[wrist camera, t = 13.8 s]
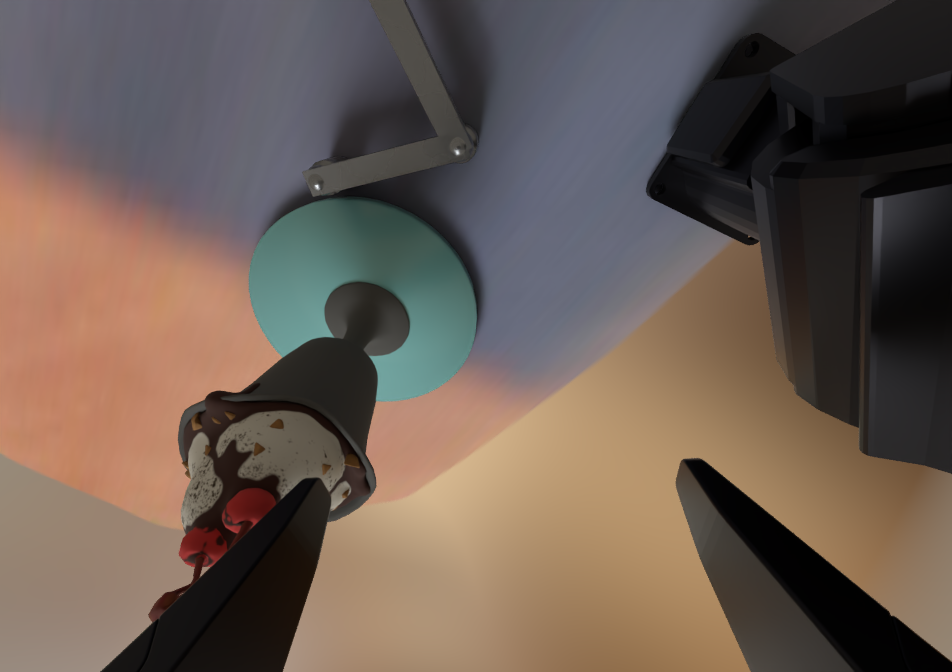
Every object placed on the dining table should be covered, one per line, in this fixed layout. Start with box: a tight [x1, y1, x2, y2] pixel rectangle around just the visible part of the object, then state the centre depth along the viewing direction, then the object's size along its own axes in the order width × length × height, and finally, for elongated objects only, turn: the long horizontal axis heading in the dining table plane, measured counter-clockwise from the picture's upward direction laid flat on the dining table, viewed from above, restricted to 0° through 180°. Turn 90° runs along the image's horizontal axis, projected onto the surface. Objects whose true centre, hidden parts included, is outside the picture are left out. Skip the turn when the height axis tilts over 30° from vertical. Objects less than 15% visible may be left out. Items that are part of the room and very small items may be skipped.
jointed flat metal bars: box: [302, 0, 479, 197], centre depth 14 cm, size 7×10×3 cm
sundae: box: [148, 282, 410, 622], centre depth 14 cm, size 7×7×15 cm
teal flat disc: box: [249, 196, 477, 401], centre depth 21 cm, size 13×13×1 cm
